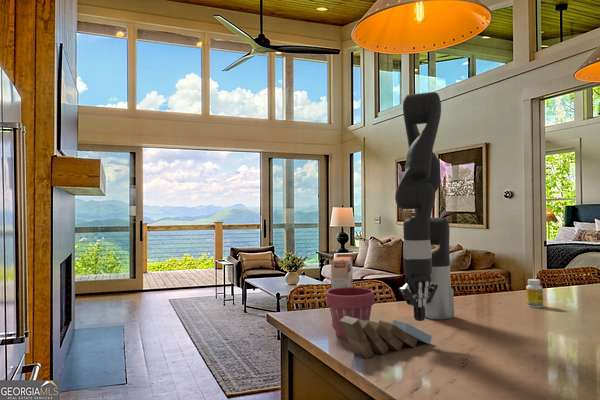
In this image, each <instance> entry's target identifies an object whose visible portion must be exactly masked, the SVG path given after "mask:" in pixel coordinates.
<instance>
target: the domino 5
mask: <svg viewBox="0 0 600 400" xmlns="http://www.w3.org/2000/svg"><path fill="white" fill-rule="evenodd" d="M391 324H394V325H395V326H397V327H398V328H400V329H401V330H403V331H404V332H406V333H408V334H409V335H411V336H412V337H414V338H415V339H417V342H420V343H424V344H426V345H430V343H431V341H432V338H433V336H432V335H431V334H428V333H426V332H424V331H423V330H421V329H419V328H417V327H415V326H413V325H411V324H409V323H407V322H403V321H400V320H395V319H393V320H392V323H391Z"/></svg>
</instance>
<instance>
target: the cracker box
mask: <svg viewBox="0 0 600 400" xmlns="http://www.w3.org/2000/svg"><path fill="white" fill-rule="evenodd" d="M330 266H331V268H330V272H331V275H330V276H331V277H330V278H331V289H334V288H343V287H354V283H353V281H354V280H353V278H354V277H353V257H352V256H336V257H335V258H333V259H332V260H331V261H330ZM331 324H332V325H331V326H332V327H334V324H333V320H332V319H331Z"/></svg>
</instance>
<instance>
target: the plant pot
mask: <svg viewBox="0 0 600 400" xmlns="http://www.w3.org/2000/svg"><path fill="white" fill-rule="evenodd" d="M325 293H326V294H325V295H326V299H325V300H326V305H327V306H328V307H329V308H330V309H329V310H330V314H331V321H332V320H333V324H334V326H333V327H334V333H335V335H336V336H337V337H338V338H344V339H347V337H346V334H345V332H344V330H343V328H342V325H341V323H340V321H339V320H341V319H342V318H343V317H345V316H349V317H352V318H357V319H360V320H364V321H366V320H369V321H371V319H370V318H371V313H372V308H373V306H374V305H375V291H374V290H373V289H371V288H367V287H355V286H353V287H343V288H334V289H332V288H330V289H328V290H326V292H325Z"/></svg>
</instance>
